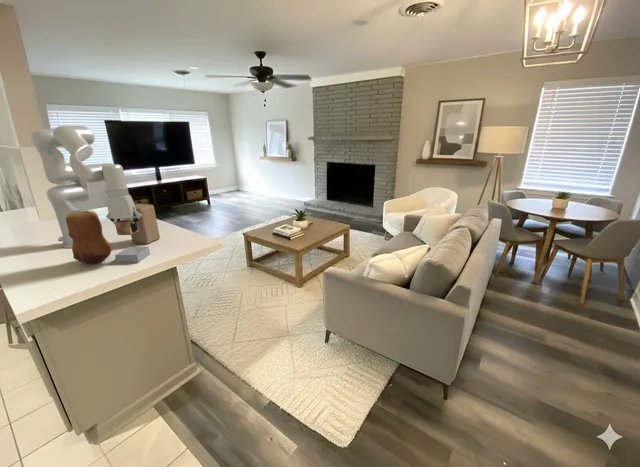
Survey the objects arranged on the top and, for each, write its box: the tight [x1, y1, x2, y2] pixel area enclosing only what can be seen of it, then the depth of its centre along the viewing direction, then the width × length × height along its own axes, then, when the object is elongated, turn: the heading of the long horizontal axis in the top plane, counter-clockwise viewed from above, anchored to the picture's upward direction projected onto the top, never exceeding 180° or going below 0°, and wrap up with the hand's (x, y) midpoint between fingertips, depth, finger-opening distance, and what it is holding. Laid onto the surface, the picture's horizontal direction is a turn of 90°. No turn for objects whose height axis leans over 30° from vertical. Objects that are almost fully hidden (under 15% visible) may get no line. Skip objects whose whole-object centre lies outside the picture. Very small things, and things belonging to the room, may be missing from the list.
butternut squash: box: [66, 209, 112, 264], centre depth 130 cm, size 14×13×25 cm
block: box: [130, 203, 161, 245], centre depth 157 cm, size 10×10×20 cm
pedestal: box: [114, 246, 151, 264], centre depth 137 cm, size 10×10×4 cm
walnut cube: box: [114, 219, 139, 236], centre depth 132 cm, size 6×6×6 cm
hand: (128, 231), depth 133 cm, fingers closed on walnut cube, 6 cm apart
